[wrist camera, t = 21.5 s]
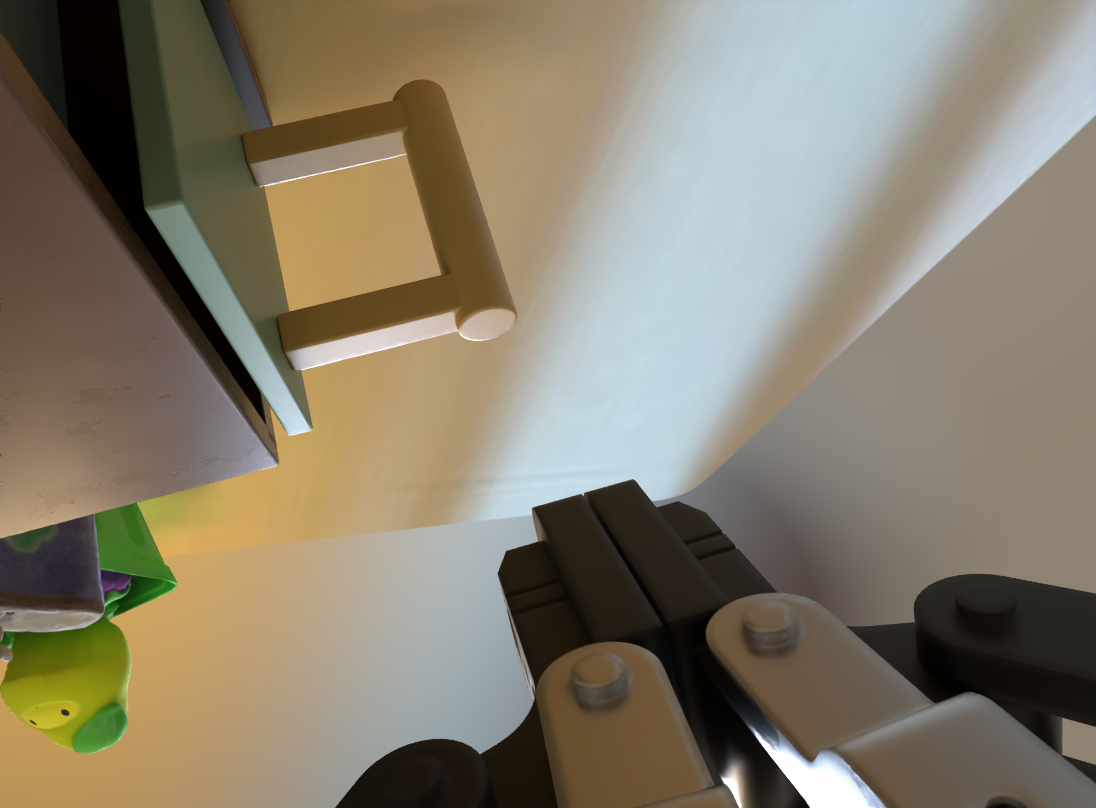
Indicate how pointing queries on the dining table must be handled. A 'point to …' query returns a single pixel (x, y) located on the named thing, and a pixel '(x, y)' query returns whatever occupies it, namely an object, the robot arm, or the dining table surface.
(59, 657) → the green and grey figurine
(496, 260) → the door
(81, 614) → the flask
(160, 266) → the cabinet
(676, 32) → the dining table surface
